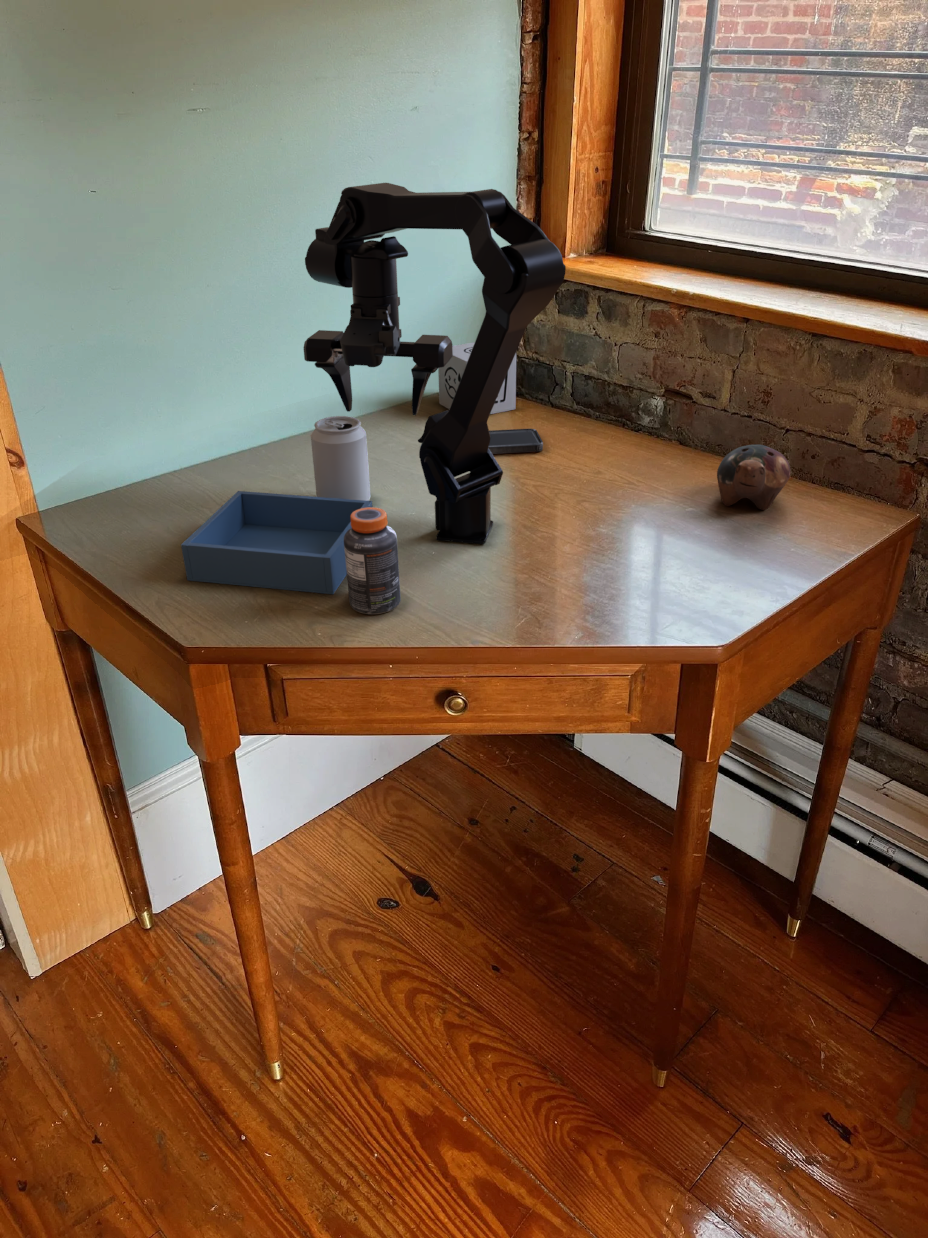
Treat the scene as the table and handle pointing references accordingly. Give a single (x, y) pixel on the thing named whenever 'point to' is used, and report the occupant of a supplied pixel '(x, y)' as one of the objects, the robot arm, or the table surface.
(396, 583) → the pill bottle
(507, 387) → the icon cube
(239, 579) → the tub
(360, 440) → the can
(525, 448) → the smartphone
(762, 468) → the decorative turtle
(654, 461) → the table surface
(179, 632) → the table surface
